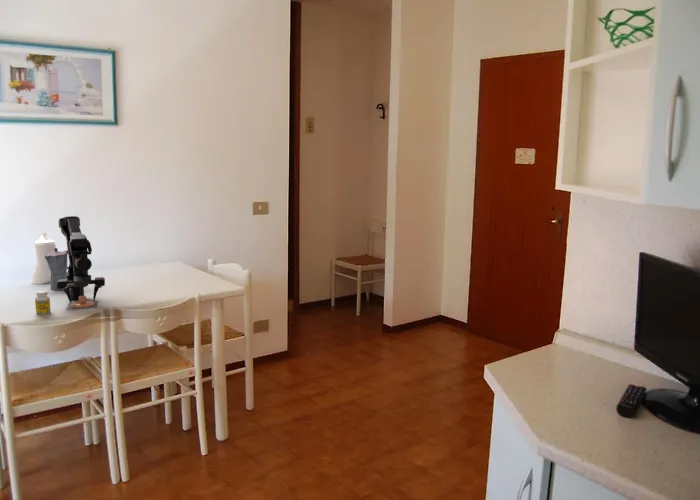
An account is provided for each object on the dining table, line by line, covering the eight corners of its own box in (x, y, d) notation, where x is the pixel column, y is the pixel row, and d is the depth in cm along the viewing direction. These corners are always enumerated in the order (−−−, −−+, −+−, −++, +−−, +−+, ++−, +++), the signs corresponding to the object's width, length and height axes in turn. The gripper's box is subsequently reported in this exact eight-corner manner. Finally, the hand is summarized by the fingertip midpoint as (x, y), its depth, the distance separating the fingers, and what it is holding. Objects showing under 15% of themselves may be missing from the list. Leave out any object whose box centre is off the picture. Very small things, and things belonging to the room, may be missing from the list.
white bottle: (50, 278, 311) (47, 230, 306) (61, 281, 305) (58, 232, 300) (27, 282, 301) (24, 233, 297) (38, 285, 295) (34, 235, 291)
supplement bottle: (49, 311, 252) (48, 289, 250) (51, 315, 247) (50, 292, 246) (35, 313, 249) (33, 291, 247) (37, 316, 244) (35, 294, 243)
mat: (68, 304, 264) (68, 302, 264) (98, 302, 268) (98, 300, 268) (66, 311, 253) (66, 310, 253) (97, 309, 257) (97, 307, 257)
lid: (72, 303, 263) (71, 294, 262) (94, 302, 266) (93, 293, 265) (70, 308, 255) (70, 299, 254) (93, 307, 258) (93, 298, 257)
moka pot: (40, 290, 286) (37, 249, 282) (66, 283, 300) (64, 244, 297) (55, 292, 282) (52, 251, 279) (80, 285, 297) (78, 246, 293)
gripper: (54, 271, 247) (56, 308, 249) (103, 269, 253) (105, 305, 256) (57, 266, 257) (59, 301, 260) (104, 264, 263) (105, 298, 266)
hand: (82, 301), depth 260 cm, fingers open, 9 cm apart
